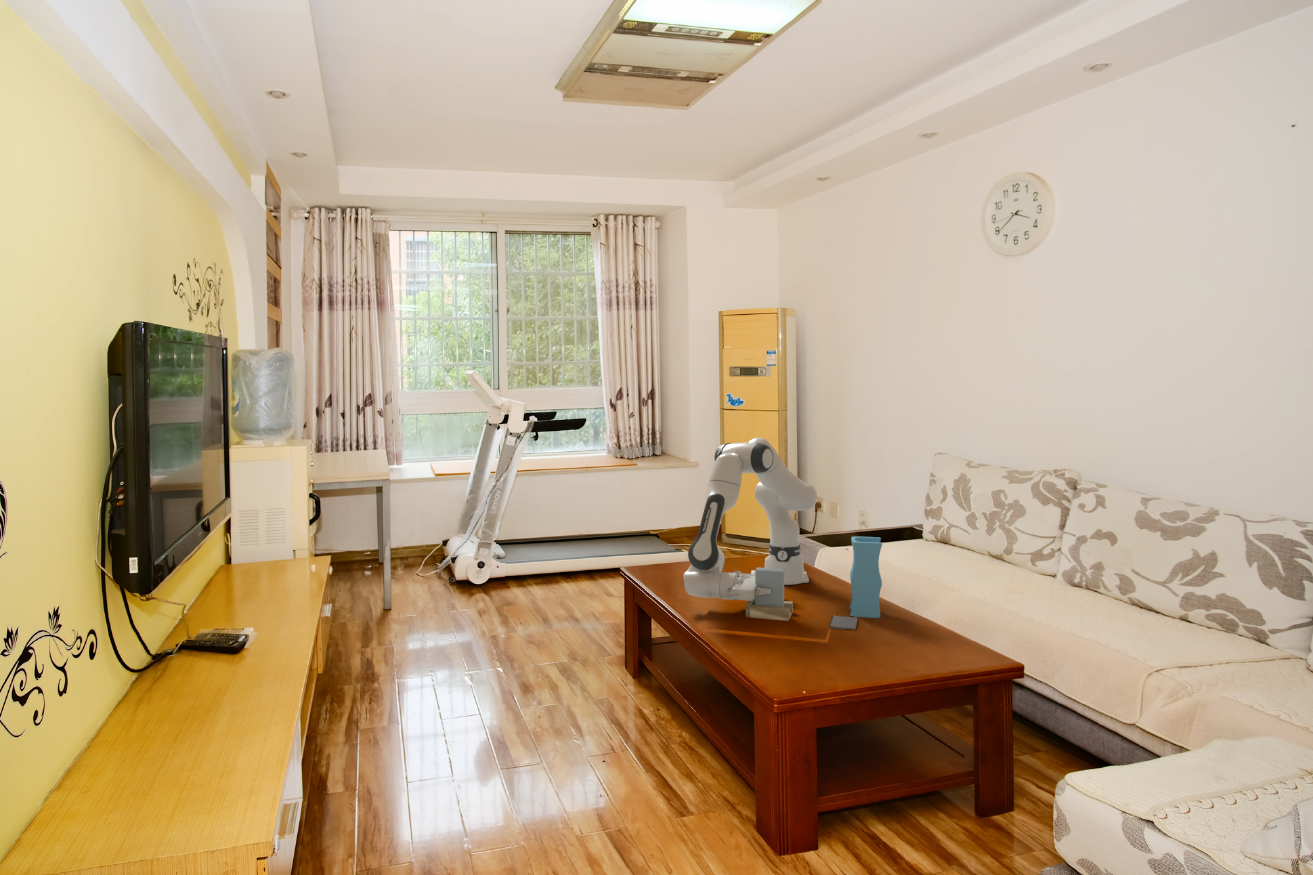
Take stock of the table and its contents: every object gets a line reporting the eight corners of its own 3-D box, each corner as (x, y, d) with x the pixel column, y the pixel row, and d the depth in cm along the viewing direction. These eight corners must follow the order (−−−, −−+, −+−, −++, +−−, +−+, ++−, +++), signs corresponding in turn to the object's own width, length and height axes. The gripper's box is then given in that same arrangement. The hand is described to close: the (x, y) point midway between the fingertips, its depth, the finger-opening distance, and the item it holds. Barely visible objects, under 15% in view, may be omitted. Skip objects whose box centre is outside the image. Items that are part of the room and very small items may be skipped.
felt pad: (820, 616, 279) (820, 614, 279) (857, 619, 276) (857, 617, 275) (816, 626, 267) (816, 625, 267) (855, 630, 264) (855, 628, 264)
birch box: (751, 611, 284) (751, 598, 284) (792, 614, 280) (792, 601, 280) (745, 619, 275) (745, 606, 274) (788, 623, 271) (788, 609, 271)
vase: (880, 618, 277) (882, 543, 275) (850, 616, 279) (851, 542, 277) (879, 609, 286) (880, 537, 284) (849, 608, 288) (850, 536, 286)
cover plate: (756, 611, 281) (757, 567, 279) (783, 614, 278) (784, 569, 277) (754, 614, 277) (755, 569, 276) (782, 617, 275) (782, 571, 273)
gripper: (724, 584, 270) (767, 587, 266) (736, 569, 290) (777, 572, 286) (724, 603, 271) (767, 607, 267) (736, 587, 290) (776, 590, 287)
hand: (772, 589), depth 277 cm, fingers closed on cover plate, 4 cm apart
